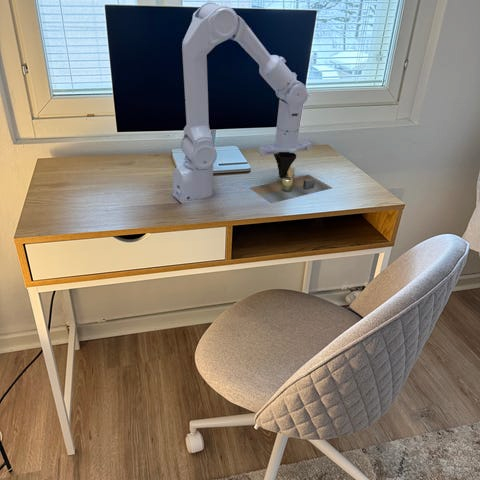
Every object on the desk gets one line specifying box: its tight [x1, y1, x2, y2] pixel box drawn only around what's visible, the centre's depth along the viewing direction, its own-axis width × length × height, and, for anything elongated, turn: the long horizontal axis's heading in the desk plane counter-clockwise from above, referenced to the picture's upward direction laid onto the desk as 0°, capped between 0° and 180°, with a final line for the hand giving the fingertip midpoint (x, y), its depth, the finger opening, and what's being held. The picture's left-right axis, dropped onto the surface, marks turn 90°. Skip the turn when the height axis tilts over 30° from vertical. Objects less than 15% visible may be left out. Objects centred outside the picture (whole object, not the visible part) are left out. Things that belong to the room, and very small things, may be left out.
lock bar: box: [281, 167, 296, 191], centre depth 122 cm, size 9×3×3 cm, turn 167°
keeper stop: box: [303, 177, 315, 190], centre depth 121 cm, size 3×1×2 cm, turn 122°
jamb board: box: [249, 174, 333, 204], centre depth 122 cm, size 20×10×1 cm, turn 122°
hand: (282, 178), depth 124 cm, fingers closed, pressing on lock bar
